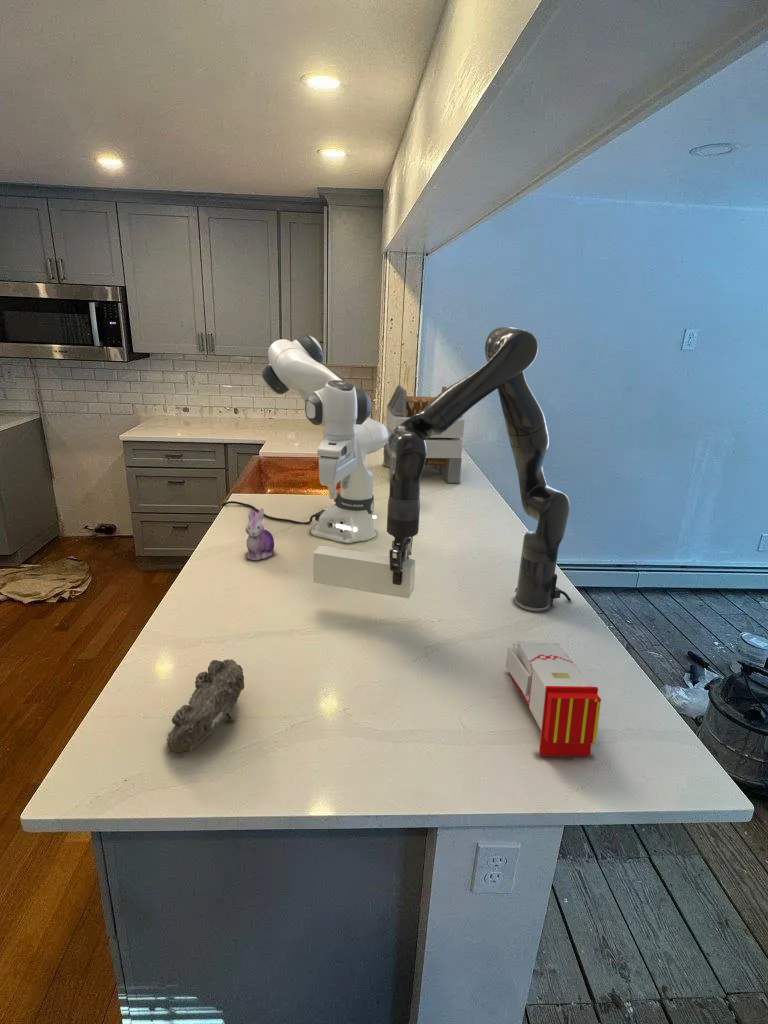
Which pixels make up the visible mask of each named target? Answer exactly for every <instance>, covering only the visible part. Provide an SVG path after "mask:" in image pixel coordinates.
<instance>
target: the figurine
mask: <svg viewBox="0 0 768 1024" xmlns="http://www.w3.org/2000/svg"><path fill="white" fill-rule="evenodd" d="M258 510H259V512H257V513H255V510H254V509H252V508H250V510H248V522H247V524H246V526H245V533H246V534H247V538H246V542H245V543H246V548H247V550H248V551H247V559H248V560H252V561H259V560H265V559H267V558H270V557H272V556H273V555H274V552H275V551H274V550H275V540H274V536H273V534H272V533H271V532H270V531H269V530H268V529H265V526H264V523H263V519H264V516H263V515H264V514H265V509H264V508H260V509H258Z"/></svg>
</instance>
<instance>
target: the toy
mask: <svg viewBox="0 0 768 1024" xmlns="http://www.w3.org/2000/svg"><path fill="white" fill-rule="evenodd" d="M511 646H512V647H508V648H507V653H506V658H505V659H506V660H505V668H506V669H507V671H508V675H509V676H510V677H511V679H512V681H513V682H514V684H515V686H516V688H517V689H518V691H519V693H520V694H521V696H522V698H523V700H524V702H525V703H526V705H527V706H528V708H529V710H530V712H531V715H532V716H533V718H534V720H535V722H536V723H537V724H536V725H537V726H538V727H539V730H540V731H541V733H540V739H539V740H540V741H539V749H538V751H539V752H538V754H539V756H543V757H548V756H550V757H551V756H552V757H553V756H554V757H568V756H569V757H591V751H592V744H596V743H597V734H598V726H599V717H600V710H601V702H602V698H601V697H600V696H599V694H598V693H599V688H598V686H592V684H590V682H589V681H588V680H587V678H586V677H585V676H584V675H583V673H582V672H581V671H580V669H579V668H578V667H577V665H576V664H575V663H574V661H573V660H572V659H571V658H570V656H569V655H568V654H567V652H566V651H565V649H564V647H562V645H561V644H560V643H559V642H553V641H551V642H549V641H548V642H547V641H546V642H545V641H517V642H512V645H511Z"/></svg>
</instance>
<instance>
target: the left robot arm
mask: <svg viewBox="0 0 768 1024" xmlns="http://www.w3.org/2000/svg"><path fill="white" fill-rule="evenodd" d="M267 358H268V361H269V362H268V364H266V365H265V366H264V368H263V370H262V372H261V374H262V375H261V377H262V379H263V382H264V384H265V386H266V387H267V388H268V389H269V390H270V391H272V392H274V393H276V394H278V395H284V394H286V393H288V392H289V391H290V389H292V390H295V391H298V393H299V395H300V396H301V399H302V400H303V401H304V404H305V405H304V408H305V409H304V412H305V413H304V414H305V417H306V419H307V420H308V421H309V422H310V423H311V424H312V425H314V426H318V427H324V429H323V438H322V439H321V442H320V444H319V445H318V447H317V449H316V454H317V456H320V457H319V459H318V479H319V483H320V485H321V486H324V487H327V490H328V495H329V496H328V497H329V499H330V500H331V499H332V500H333V502H334V504H333V505H331V506H329V507H328V508H326V509H322V510H320V511H317V512H316V513H315V514H312V515H310V517H309V520H308V521H305V522H303V521H302V522H301V521H297V520H294V519H290V518H289V519H288V518H281V517H274V516H270V515H268V514H266V513H264V515H263V518H266V519H269V520H273V521H277V522H286V523H292V524H296V525H297V524H298V525H310V524H311V523H312V522H313V519H314V521H316V522H317V523H315V524H314V525H313V526H312V528H311V530H310V533H311V536H315V537H319V538H323V539H326V540H330V541H336V542H339V543H343V544H352V543H357V542H365V541H368V540H372V539H373V538H375V537H376V535H377V532H376V528H375V523H374V519H377V515H374V513H373V512H374V509H375V496H374V473H373V471H372V470H371V469H369V468H368V467H367V464H366V463H367V462H366V456H367V455H370V454H374V453H376V452H378V451H380V450H381V449H383V448H384V446H385V445H386V443H387V441H388V431H387V429H386V425H385V424H383V423H382V422H380V421H378V420H375V419H373V418H371V417H370V415H371V413H372V409H373V408H372V402H371V398H370V396H369V395H368V394H367V392H366V391H365V390H364V389H362V388H361V387H356V386H355V385H354V383H351V382H349V381H347V380H346V379H344V378H343V377H342V376H340V375H339V374H338V373H337V372H335V371H334V370H333V369H331V368H329V367H327V366H325V365H323V362H324V361H323V360H324V351H323V349H322V346H321V343H320V342H319V341H318V340H317V339H316V337H314V336H312V335H309V334H308V333H302V334H299V335H298V336H297V337H295V339H294V340H292V341H291V340H288V339H285V338H282V339H277V340H275V341H273V343H271V345H270V346H269V348H268V351H267ZM339 482H340V484H339V485H340V488H339V489H340V490H339V491H337V486H338V483H339ZM230 504H234V505H235V504H236V505H240V506H243V507H247V508H248V507H249V508H250V509H252V510H253V511H254V512H257V513H258V512H259V510H260V509H259V508H256V507H255V506H254V505H252V504H249V503H244V502H240V501H236V500H229V501H225V502H223V504H222V505H221V506H222V507H225V506H226V505H230Z"/></svg>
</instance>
